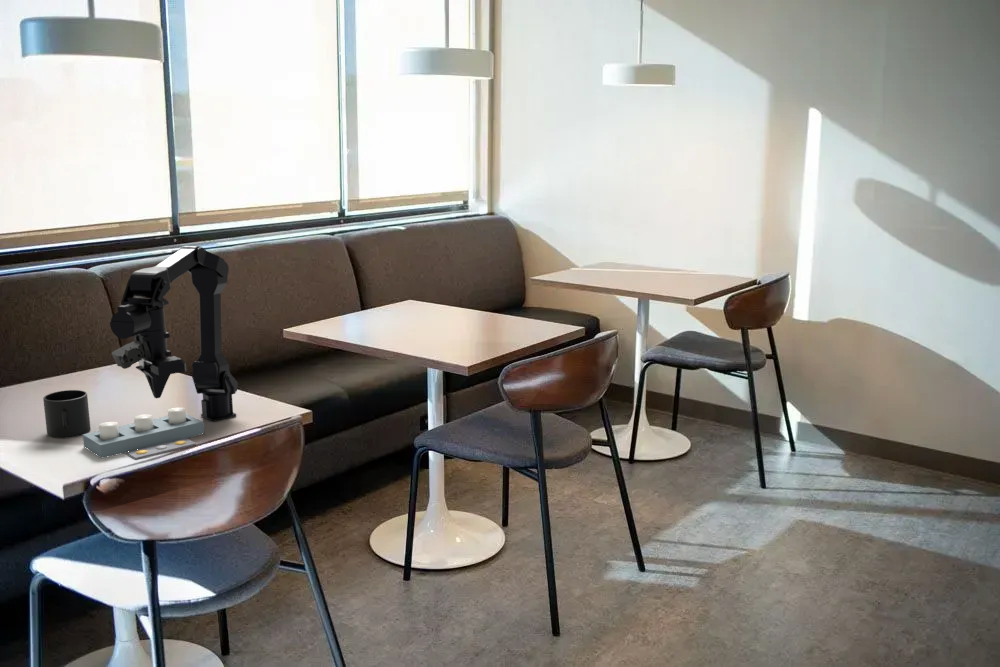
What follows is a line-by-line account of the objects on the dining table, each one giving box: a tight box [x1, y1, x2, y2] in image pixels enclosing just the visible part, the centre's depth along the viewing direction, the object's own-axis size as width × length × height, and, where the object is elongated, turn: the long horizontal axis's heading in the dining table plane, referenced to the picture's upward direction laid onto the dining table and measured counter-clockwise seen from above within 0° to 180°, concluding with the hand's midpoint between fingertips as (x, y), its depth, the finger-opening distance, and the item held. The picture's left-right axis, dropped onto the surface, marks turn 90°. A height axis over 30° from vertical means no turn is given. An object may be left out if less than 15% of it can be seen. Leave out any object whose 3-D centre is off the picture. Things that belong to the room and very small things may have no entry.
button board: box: [82, 413, 205, 459], centre depth 224 cm, size 24×10×3 cm, turn 133°
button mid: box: [133, 413, 154, 433], centre depth 223 cm, size 4×4×4 cm
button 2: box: [167, 407, 187, 425], centre depth 229 cm, size 4×4×4 cm
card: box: [125, 438, 197, 461], centre depth 218 cm, size 14×5×1 cm, turn 133°
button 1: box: [98, 421, 119, 441], centre depth 218 cm, size 4×4×4 cm
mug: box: [42, 389, 91, 439], centre depth 228 cm, size 9×12×9 cm
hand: (157, 397), depth 215 cm, fingers closed
